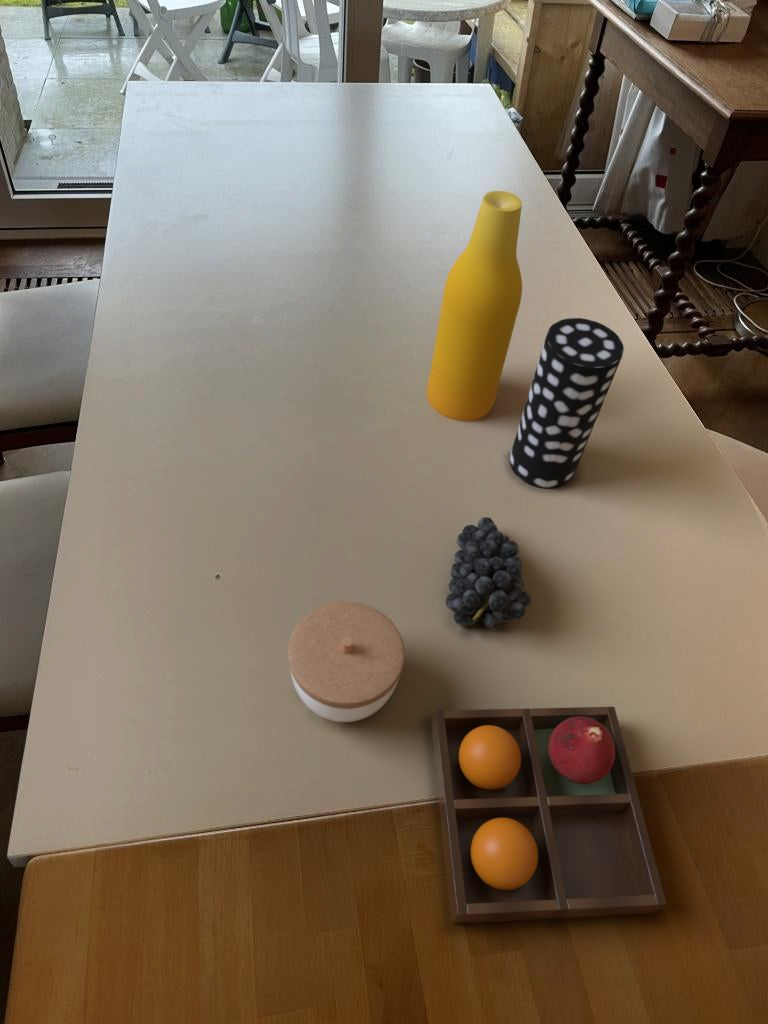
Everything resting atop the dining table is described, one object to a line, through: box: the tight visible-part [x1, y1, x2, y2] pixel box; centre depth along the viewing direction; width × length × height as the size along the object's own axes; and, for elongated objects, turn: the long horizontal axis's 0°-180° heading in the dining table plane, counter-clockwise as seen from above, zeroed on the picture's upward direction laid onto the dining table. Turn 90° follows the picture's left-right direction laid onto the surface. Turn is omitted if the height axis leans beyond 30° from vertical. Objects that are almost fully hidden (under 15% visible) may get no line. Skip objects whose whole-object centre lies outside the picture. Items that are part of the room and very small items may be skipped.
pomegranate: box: [548, 716, 615, 784], centre depth 71 cm, size 6×6×8 cm
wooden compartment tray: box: [430, 706, 667, 925], centre depth 70 cm, size 17×17×4 cm
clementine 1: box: [459, 725, 521, 790], centre depth 71 cm, size 6×6×6 cm
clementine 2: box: [471, 818, 538, 890], centre depth 66 cm, size 6×6×6 cm
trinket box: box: [287, 600, 406, 723], centre depth 74 cm, size 11×11×9 cm
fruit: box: [445, 516, 532, 631], centre depth 84 cm, size 9×8×15 cm
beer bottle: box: [426, 190, 523, 422], centre depth 95 cm, size 9×9×29 cm
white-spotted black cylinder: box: [508, 317, 625, 490], centre depth 92 cm, size 8×8×20 cm
